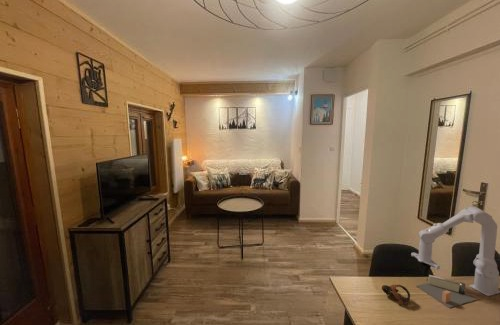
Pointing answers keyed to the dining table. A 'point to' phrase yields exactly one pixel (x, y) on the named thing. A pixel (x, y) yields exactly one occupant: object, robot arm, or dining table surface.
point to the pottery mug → (393, 288)
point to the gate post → (462, 288)
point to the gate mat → (454, 298)
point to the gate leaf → (444, 283)
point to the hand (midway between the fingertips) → (423, 274)
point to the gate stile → (446, 296)
